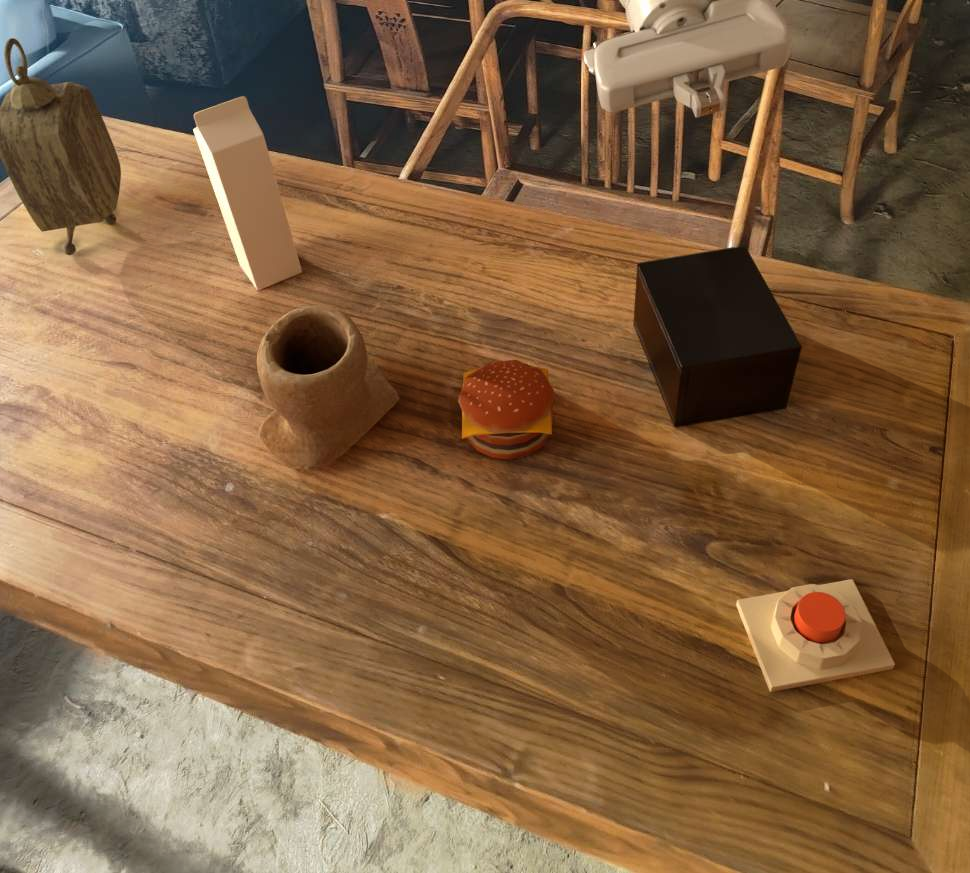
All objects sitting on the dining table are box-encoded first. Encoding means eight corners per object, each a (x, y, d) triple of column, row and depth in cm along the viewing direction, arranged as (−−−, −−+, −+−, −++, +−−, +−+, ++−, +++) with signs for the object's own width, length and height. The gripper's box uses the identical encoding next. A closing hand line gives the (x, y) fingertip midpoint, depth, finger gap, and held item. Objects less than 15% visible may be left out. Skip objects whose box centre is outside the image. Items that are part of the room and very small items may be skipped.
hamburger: (559, 457, 91) (558, 412, 86) (462, 465, 92) (455, 420, 87) (552, 388, 97) (550, 342, 92) (461, 395, 98) (454, 350, 93)
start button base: (847, 592, 79) (857, 566, 76) (888, 677, 74) (902, 653, 71) (733, 613, 79) (739, 588, 76) (767, 700, 73) (775, 677, 70)
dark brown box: (633, 324, 103) (637, 263, 96) (734, 307, 103) (745, 245, 97) (674, 427, 93) (681, 366, 86) (786, 408, 93) (802, 346, 87)
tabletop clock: (69, 201, 127) (-19, 20, 108) (135, 190, 128) (59, 8, 109) (56, 265, 118) (-43, 80, 99) (127, 253, 118) (43, 67, 99)
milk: (240, 266, 115) (181, 102, 98) (284, 247, 117) (234, 83, 100) (258, 292, 111) (201, 126, 95) (304, 272, 113) (255, 106, 97)
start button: (829, 599, 75) (834, 587, 74) (848, 638, 73) (853, 627, 71) (786, 607, 75) (790, 595, 73) (804, 646, 72) (808, 635, 71)
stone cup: (325, 500, 90) (289, 394, 79) (247, 444, 95) (203, 337, 84) (431, 408, 97) (412, 298, 85) (353, 360, 102) (325, 251, 91)
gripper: (576, 23, 99) (608, 113, 92) (767, -30, 97) (813, 57, 90) (582, 70, 104) (612, 158, 97) (762, 21, 103) (805, 106, 96)
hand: (710, 109), depth 94 cm, fingers closed
